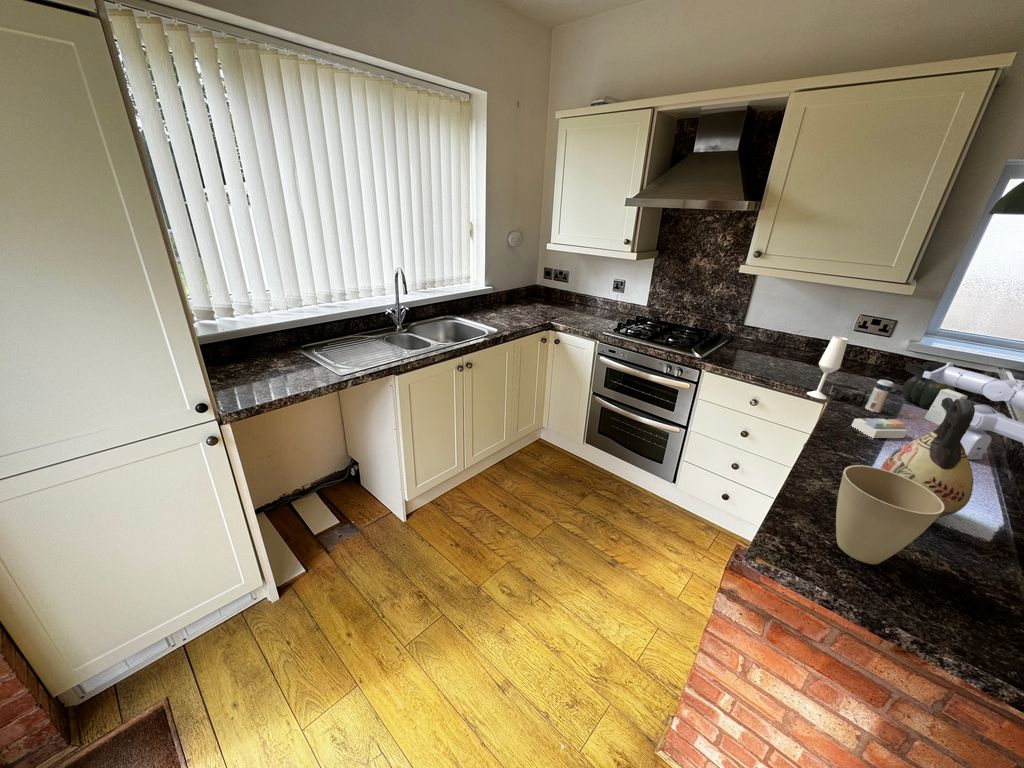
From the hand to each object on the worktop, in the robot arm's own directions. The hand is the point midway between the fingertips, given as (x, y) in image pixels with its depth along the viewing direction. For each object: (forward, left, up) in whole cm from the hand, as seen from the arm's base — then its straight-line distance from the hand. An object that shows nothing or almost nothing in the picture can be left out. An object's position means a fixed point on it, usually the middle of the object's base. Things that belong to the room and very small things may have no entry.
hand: (914, 365), depth 139 cm
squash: (+13, -32, -21) cm, 40 cm away
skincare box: (-2, -20, -21) cm, 29 cm away
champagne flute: (+20, +10, -21) cm, 31 cm away
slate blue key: (-10, +18, -19) cm, 28 cm away
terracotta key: (-10, +10, -19) cm, 23 cm away
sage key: (-10, +14, -19) cm, 25 cm away
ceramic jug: (-46, +47, -21) cm, 69 cm away
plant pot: (-56, +73, -21) cm, 94 cm away
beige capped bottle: (+7, -2, -21) cm, 22 cm away
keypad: (-9, +14, -21) cm, 27 cm away
